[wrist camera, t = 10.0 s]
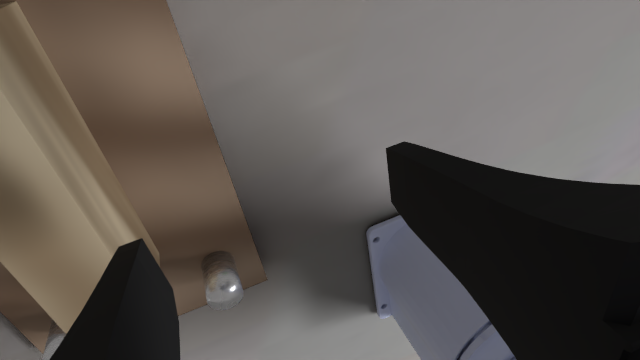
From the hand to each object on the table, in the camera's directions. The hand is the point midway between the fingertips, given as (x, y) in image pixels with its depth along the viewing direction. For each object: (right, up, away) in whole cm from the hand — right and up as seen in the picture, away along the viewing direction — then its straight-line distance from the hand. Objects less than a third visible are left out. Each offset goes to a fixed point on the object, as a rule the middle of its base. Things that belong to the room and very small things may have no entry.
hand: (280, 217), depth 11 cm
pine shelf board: (-9, +2, +5) cm, 11 cm away
